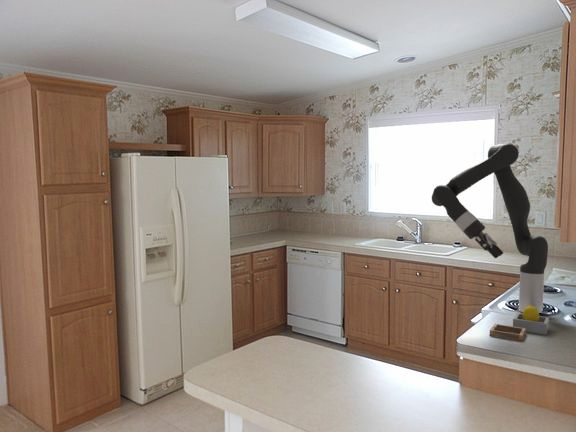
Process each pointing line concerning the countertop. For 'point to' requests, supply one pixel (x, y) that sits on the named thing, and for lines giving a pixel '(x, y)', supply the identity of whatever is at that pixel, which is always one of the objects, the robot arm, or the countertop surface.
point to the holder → (532, 324)
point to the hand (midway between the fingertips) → (499, 255)
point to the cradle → (505, 334)
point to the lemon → (531, 314)
